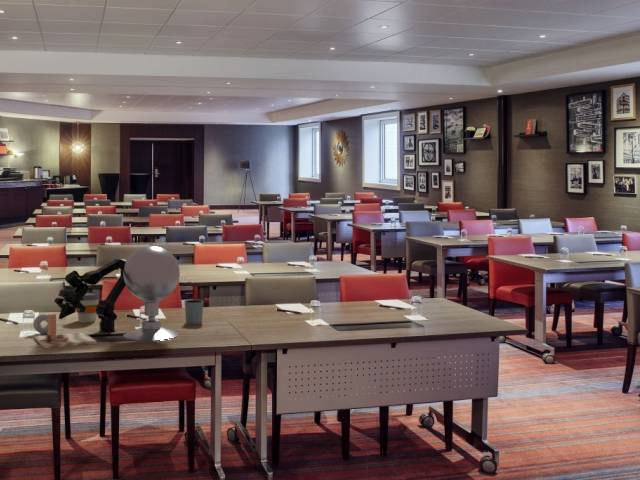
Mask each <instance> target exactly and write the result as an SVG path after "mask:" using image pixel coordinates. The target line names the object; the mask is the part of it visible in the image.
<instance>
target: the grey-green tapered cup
mask: <svg viewBox="0 0 640 480" xmlns="http://www.w3.org/2000/svg"><path fill="white" fill-rule="evenodd" d="M184 309H185V311H184V312H185V323H186V324H187V323H188V324H187V325H201V324H203V312H204V300H202V299H188V300H187V299H186V300H184Z"/></svg>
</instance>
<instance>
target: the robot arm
mask: <svg viewBox="0 0 640 480" xmlns="http://www.w3.org/2000/svg"><path fill="white" fill-rule="evenodd" d="M126 261H127V260H126ZM126 261H125V260H123V259H121V258H114V259H113V260H112V261H110V262H108V263H107V264H104V265H103V266H101V267H100V268H98V269H95V270H89V271H87V272H85V273H83V274H82V275H80V274H79V272H78V271H77V270H72V271H71V272H69V273H68V274H66V275H65V277H64V281H66V283H67V284H68V285H69V286H70V287H71V288H72V289H73V290H72V289H69V290H65V289H60V291H59V293H58V297H56V298H55V299H54V303H55V304H56V305H57V306H58V307H59V308H60V312H59V315H58V320H63V319H65V318H67V317H68V316H70V315H72V314H76V313H77V310H76V309H80V310H79V312H81V313H84V312H85V310H86V307H85V306H84V305H83V304H82V303H81V302H80V301H83V300H84V299H83V297H84V296H85V295H86V293H87V292H93V287H92V286H96V285H97V284H98V283H99V282H100V281H101V280H102V279H103V278H104V277H105V276H107V275H109V274H110V273H112V272H115V271H116V270H118V269H120V276H119V277H118V279H117V281H116V282H115V283H114V286H113V288H111V290H110V292H109V293H108V295H107V297H106V298H105V299H100V300H98V303H99V304H98V305H97V306H96V307H97V308H96V313H97V317H98V319H100V321H99V331H100V332H102V333H113V331H114V332H116V330H115V320H117V318H118V315H117V314H116V312H114V311H115V308H116V306H115V304H116V302H117V301H118V299H119V297H120V295H121V294H122V292H123V290H124V289H125V287H127V286H126V284H125V282H124V277H123V271H124V266H125V263H126Z"/></svg>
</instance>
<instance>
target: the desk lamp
mask: <svg viewBox="0 0 640 480" xmlns="http://www.w3.org/2000/svg"><path fill="white" fill-rule="evenodd" d="M180 275H181V272H180V266H179V263H178V260H177V259H176V257H175V256H174V255H173V254H172V252H170V251H169V250H167V249H165V248H164V247H161V246H157V245H146V246H142V247H140V248H138V249H136V250H135V251H134V252H132V253H131V254H130V255H129V256H128V258H127V259H126V263H125V266H124V271H123V277H124V282H125V284H126V286H125V287H126V288H127V290H128V291H129V292H130V293H131V295H133V296H134V297H136V298H137V299H139V300H141V301H142V302H144V316H145V317H147V319H144V320H142V323H141V324H142V325H141V327H138V328H136V329H133V330H130V331H128V332H126V334H125V333H124V334H123V335H122V336H123V338H125V339H127V340H132V341H138V342H139V341H141V342H151V341H152V342H156V341H155V340H160V341H165V340H164V339H168V340H170V339H169V338H173V339H175V338H174V337H176V336H178V335H179V336H180V333H179V332H177V331H174V330H171V329H168V328H166V327H162V323H161V320H159V319H157V318H156V317H157V316H159V315H160V313H159V311H160V310H159V308H160V307H159V305H160V304H159V303H160V302H161V301H162V300H164V299H165V298H167V297H169V296H170V295H172V293H173V292H174V291H175V290H176V288H177V287H178V284H179V281H180V277H181V276H180ZM178 333H179V334H178ZM179 336H178V337H179ZM176 338H177V337H176Z"/></svg>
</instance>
